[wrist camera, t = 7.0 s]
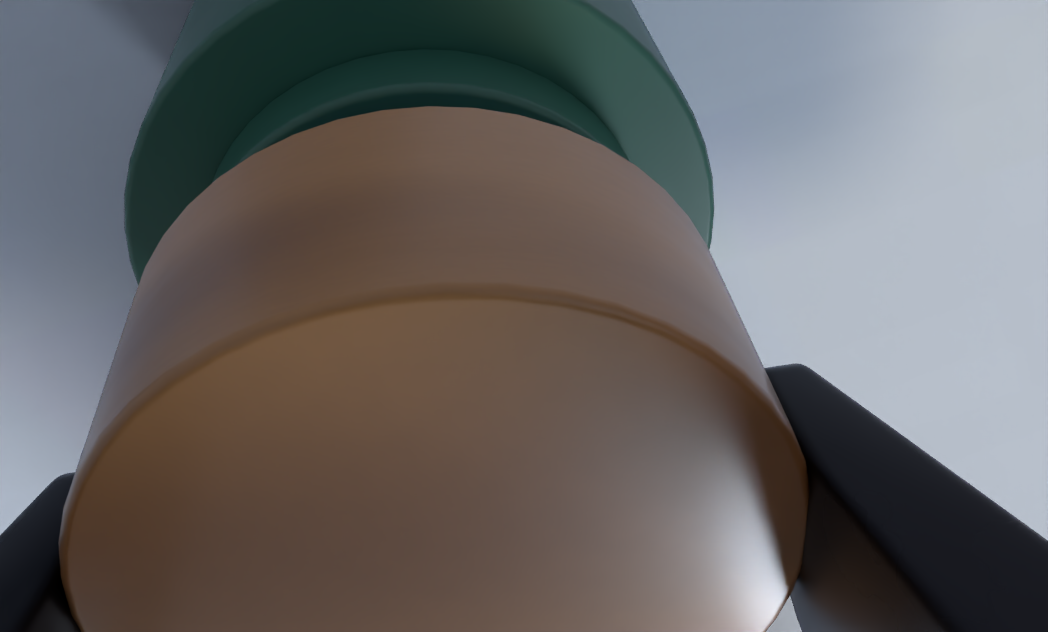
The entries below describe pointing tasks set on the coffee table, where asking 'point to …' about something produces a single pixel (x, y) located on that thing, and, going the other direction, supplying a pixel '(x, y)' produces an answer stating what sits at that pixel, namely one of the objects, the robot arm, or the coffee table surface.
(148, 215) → the bottle
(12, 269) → the coffee table surface
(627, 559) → the cylinder
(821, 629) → the robot arm
